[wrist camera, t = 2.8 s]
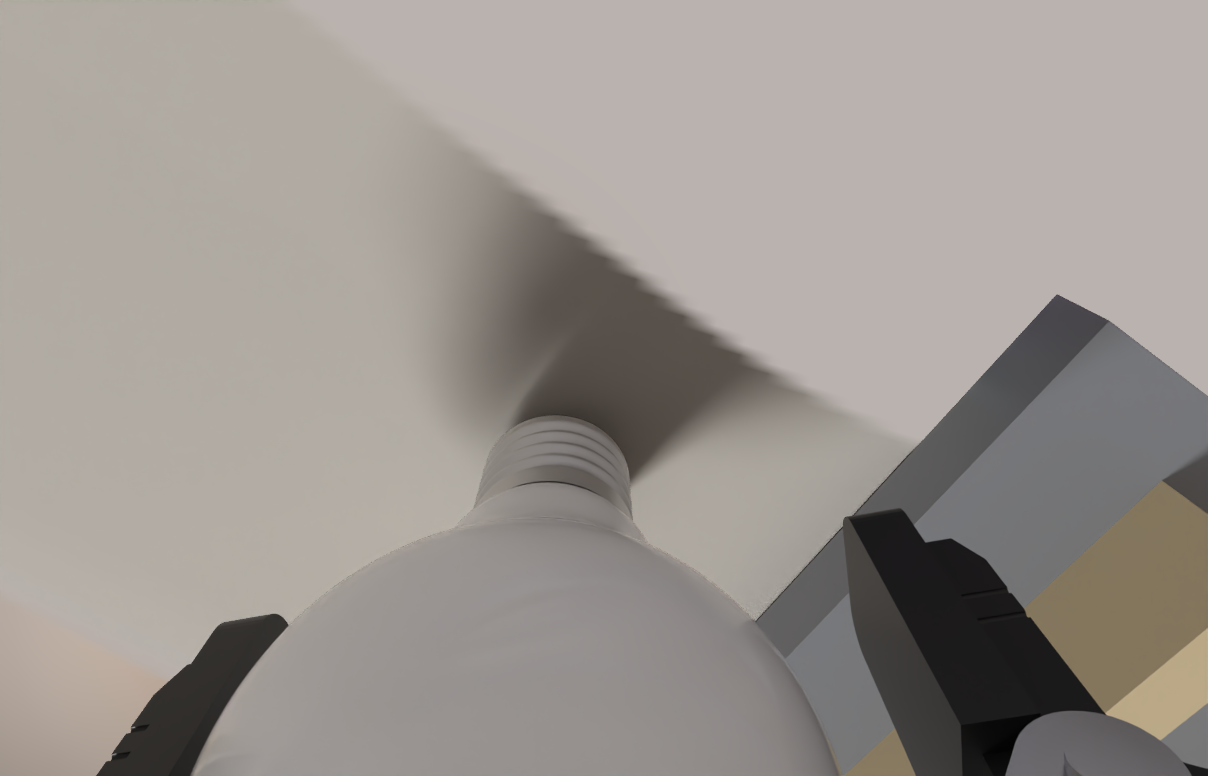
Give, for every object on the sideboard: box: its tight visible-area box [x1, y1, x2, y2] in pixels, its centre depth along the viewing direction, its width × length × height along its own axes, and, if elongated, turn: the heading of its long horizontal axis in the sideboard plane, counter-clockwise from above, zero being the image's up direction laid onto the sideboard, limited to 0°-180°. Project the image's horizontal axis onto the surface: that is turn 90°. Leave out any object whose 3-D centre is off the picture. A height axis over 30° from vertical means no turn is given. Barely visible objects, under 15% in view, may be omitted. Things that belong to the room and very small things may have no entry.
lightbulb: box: [190, 415, 843, 776], centre depth 10 cm, size 6×6×11 cm
